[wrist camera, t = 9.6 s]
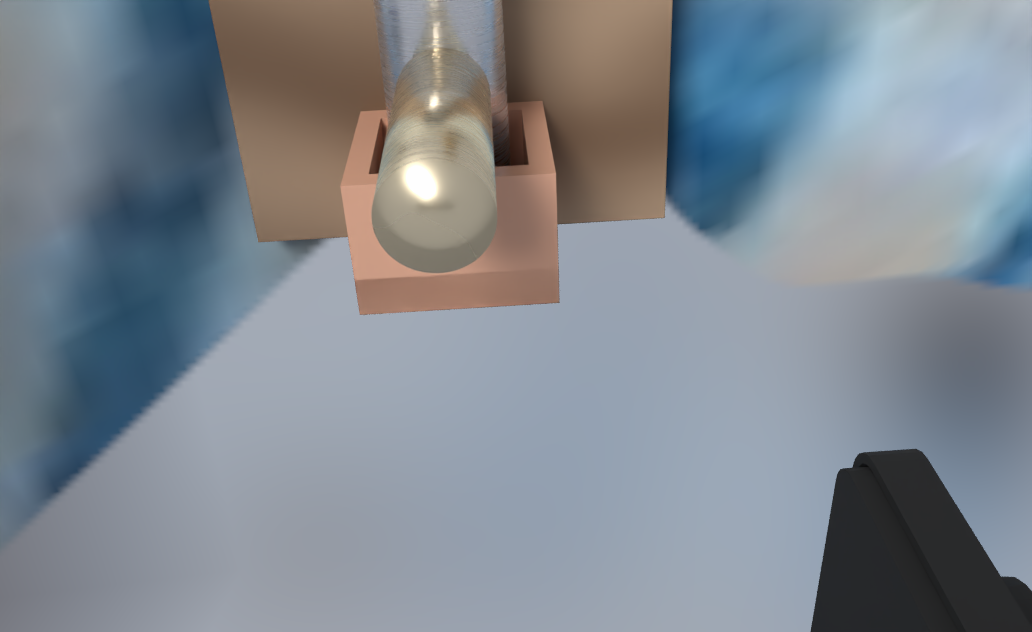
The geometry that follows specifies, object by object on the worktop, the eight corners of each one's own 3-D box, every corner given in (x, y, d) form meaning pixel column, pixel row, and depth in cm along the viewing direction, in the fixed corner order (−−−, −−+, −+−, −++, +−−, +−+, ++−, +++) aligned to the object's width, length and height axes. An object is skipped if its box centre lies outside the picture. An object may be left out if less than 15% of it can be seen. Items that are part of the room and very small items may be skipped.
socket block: (360, 111, 27) (340, 186, 23) (542, 100, 27) (555, 173, 23) (376, 225, 29) (359, 315, 25) (546, 215, 29) (559, 302, 25)
